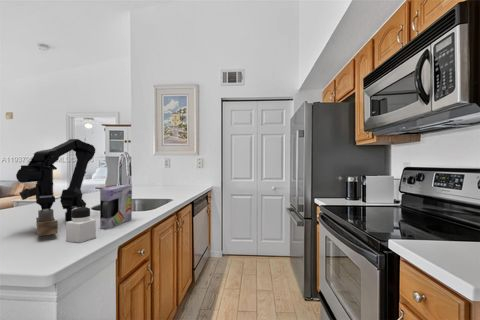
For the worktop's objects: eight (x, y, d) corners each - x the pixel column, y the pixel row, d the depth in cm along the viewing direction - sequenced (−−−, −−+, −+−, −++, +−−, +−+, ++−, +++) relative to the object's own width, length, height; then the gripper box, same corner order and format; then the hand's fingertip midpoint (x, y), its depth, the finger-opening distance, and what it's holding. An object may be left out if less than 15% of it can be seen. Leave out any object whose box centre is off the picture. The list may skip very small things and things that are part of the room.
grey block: (52, 220, 117) (52, 207, 117) (53, 222, 114) (53, 208, 113) (38, 222, 114) (38, 208, 114) (38, 224, 110) (38, 210, 110)
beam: (53, 227, 122) (53, 211, 122) (57, 239, 104) (57, 220, 104) (36, 229, 118) (36, 213, 118) (38, 242, 100) (37, 223, 100)
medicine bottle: (96, 237, 106) (96, 206, 106) (80, 243, 99) (79, 210, 99) (82, 236, 108) (82, 205, 108) (65, 241, 101) (65, 209, 101)
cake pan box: (108, 230, 117) (107, 188, 117) (97, 229, 118) (97, 188, 118) (132, 219, 136) (132, 184, 136) (123, 219, 137) (123, 184, 137)
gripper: (21, 180, 119) (21, 216, 119) (19, 183, 104) (20, 224, 104) (52, 179, 126) (52, 212, 126) (55, 181, 111) (55, 220, 111)
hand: (45, 217), depth 117 cm, fingers closed
